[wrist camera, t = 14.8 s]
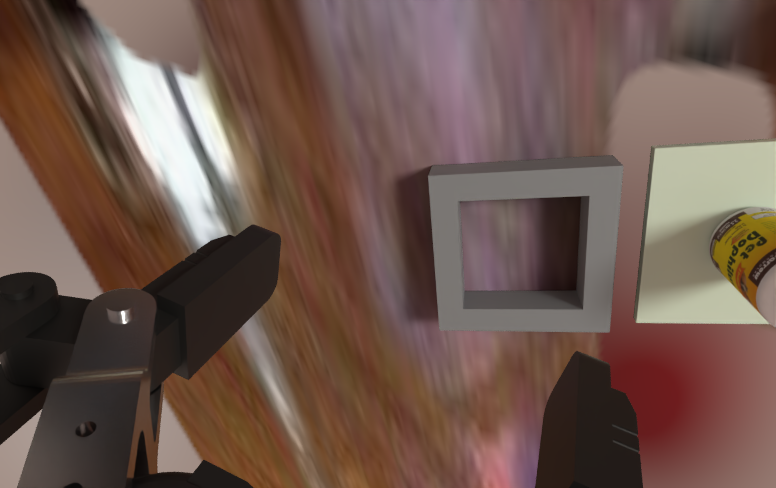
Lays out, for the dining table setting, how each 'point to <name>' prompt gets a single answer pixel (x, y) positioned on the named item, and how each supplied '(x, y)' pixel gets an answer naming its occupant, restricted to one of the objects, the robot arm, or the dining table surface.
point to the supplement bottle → (749, 256)
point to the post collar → (520, 181)
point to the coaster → (698, 228)
